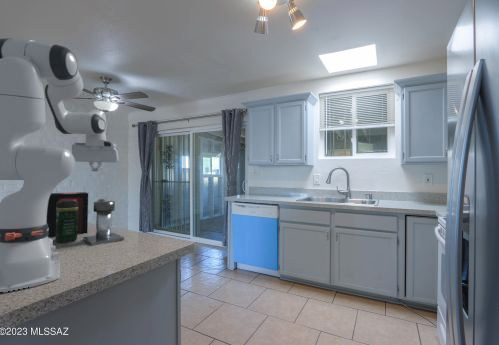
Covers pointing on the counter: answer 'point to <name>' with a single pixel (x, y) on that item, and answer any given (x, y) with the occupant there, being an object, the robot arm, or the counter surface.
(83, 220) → the cleaning product box
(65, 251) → the counter surface
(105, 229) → the silver pedestal stand
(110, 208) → the elbow
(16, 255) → the robot arm
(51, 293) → the counter surface
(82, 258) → the counter surface
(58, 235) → the coffee jar
